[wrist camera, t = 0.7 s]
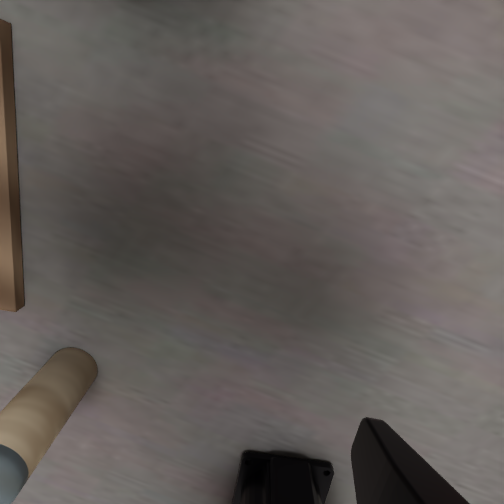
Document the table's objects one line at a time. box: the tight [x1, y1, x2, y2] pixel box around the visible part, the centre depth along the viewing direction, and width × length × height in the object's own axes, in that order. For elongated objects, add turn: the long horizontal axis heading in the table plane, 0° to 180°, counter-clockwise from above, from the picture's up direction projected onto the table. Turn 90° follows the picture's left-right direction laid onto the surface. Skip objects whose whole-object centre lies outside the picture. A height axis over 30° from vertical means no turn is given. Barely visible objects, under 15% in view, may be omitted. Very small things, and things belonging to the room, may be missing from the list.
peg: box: [0, 348, 98, 504], centre depth 19 cm, size 3×3×8 cm
